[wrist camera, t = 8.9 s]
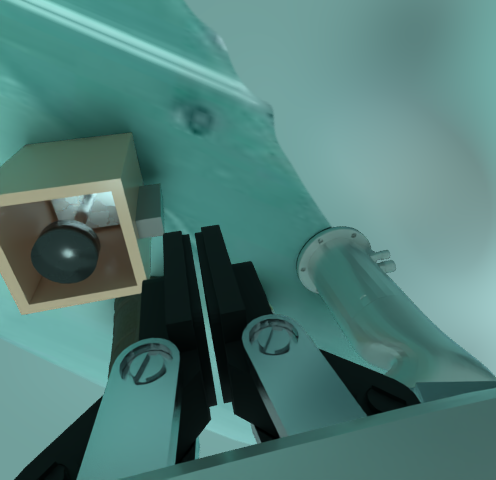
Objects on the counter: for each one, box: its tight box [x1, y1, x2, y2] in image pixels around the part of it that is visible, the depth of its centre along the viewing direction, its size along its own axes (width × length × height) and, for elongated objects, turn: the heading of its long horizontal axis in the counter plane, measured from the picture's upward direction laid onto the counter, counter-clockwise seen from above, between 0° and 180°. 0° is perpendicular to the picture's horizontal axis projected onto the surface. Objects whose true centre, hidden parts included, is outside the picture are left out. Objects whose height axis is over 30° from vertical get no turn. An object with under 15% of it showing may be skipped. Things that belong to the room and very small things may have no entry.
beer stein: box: [108, 277, 158, 379], centre depth 48 cm, size 15×11×20 cm
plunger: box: [31, 191, 120, 284], centre depth 38 cm, size 9×9×15 cm
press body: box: [0, 132, 164, 315], centre depth 40 cm, size 14×12×16 cm
